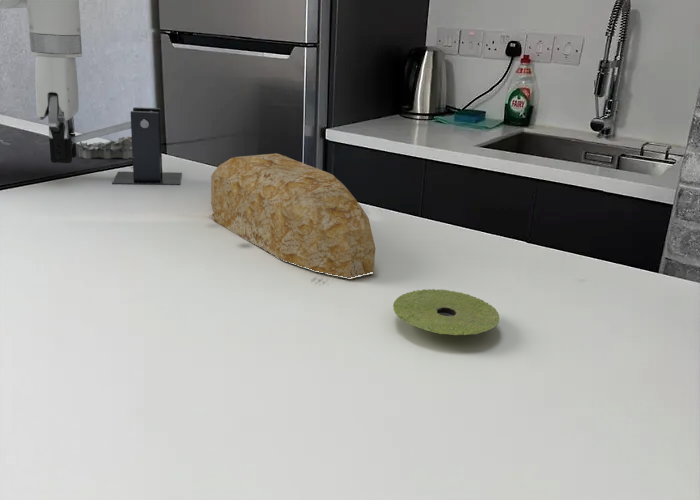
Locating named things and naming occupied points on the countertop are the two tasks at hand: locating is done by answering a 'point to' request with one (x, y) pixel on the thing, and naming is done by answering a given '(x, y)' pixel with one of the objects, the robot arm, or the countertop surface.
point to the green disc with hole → (446, 312)
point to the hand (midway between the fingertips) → (64, 158)
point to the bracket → (147, 151)
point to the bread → (294, 213)
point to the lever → (100, 132)
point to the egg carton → (107, 149)
